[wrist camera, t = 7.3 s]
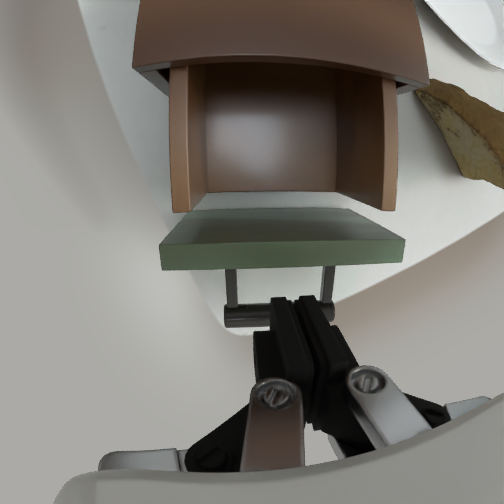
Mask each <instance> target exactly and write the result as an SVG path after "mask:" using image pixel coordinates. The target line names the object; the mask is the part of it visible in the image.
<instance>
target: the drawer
mask: <svg viewBox="0 0 504 504" xmlns="http://www.w3.org/2000/svg"><path fill="white" fill-rule="evenodd" d="M169 153H170V178H171V196H172V210H173V213H180V212H188V213H187V214H186V215H185V216H184V217H183V218H182V219H181V221H180V222H179V223H178V224H177V225H176V226H175V227H174V228H173V230H172V231H171V232H170V233H169V234H168V235H167V236H166V237H165V239H164V240H163V241H162V242H161V243H160V244H159V251H160V259H161V266H162V270H214V269H225V276H226V294H227V304H225V306H224V324H225V327H226V328H236V327H265V326H270V303H253V304H238V294H237V269H253V268H285V267H312V266H323V271H322V282H321V292H320V300H317V301H318V303H319V305H320V307H321V309H322V311H323V313H324V314H325V316H326V318H327V320H328V322H332V321H333V320H334V316H335V307H334V303H333V301H332V292H333V283H334V275H335V266H337V265H359V264H380V263H399V262H402V259H403V253H404V247H405V239H404V238H402V237H400V236H398V235H397V234H395V233H393V232H391V231H389V230H388V229H386V228H384V227H382V226H380V225H379V224H377V223H375V222H373V221H371V220H369V219H367V218H366V217H364V216H362V215H360V214H358V213H356V212H354V211H352V210H350V209H342V208H257V209H219V210H194V211H192V209H193V208H194V207H195V206H196V205H197V204H198V203H199V202H200V201H201V199H202V198H203V197H204V196H205V195H206V194H207V193H216V192H251V191H312V192H337V193H340V194H342V195H345V196H347V197H350V198H352V199H355V200H357V201H360V202H362V203H365V204H367V205H370V206H372V207H374V208H377V209H379V210H381V211H395V206H396V193H397V176H398V110H397V94H396V82H395V80H391V79H387V78H383V77H379V76H375V75H370V74H365V73H360V72H355V71H350V70H344V69H337V68H331V67H323V66H315V65H305V64H294V63H277V62H222V63H206V64H194V65H184V66H176V67H170V80H169ZM292 304H293V307H294V302H292Z"/></svg>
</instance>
